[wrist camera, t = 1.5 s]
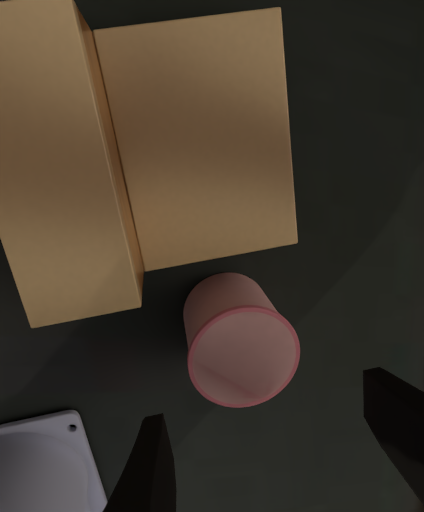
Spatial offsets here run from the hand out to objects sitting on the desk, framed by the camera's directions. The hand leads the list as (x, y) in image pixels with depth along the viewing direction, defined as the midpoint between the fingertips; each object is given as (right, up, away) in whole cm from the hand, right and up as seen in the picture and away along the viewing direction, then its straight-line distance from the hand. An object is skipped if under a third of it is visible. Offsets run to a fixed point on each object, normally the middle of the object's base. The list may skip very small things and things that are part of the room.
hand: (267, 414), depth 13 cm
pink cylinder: (-1, +2, +8) cm, 9 cm away
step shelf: (-4, +10, +5) cm, 12 cm away
